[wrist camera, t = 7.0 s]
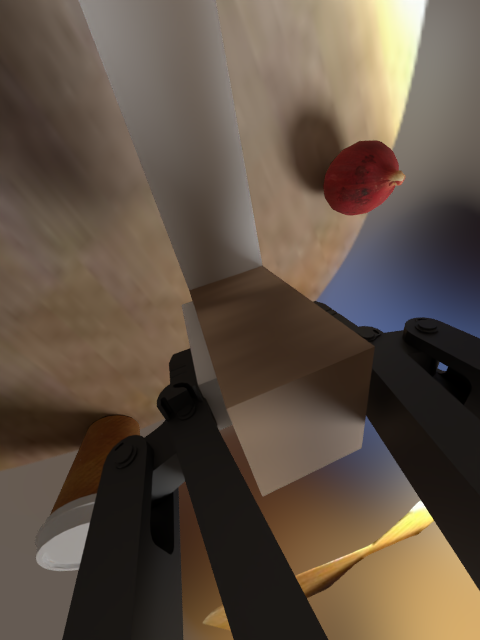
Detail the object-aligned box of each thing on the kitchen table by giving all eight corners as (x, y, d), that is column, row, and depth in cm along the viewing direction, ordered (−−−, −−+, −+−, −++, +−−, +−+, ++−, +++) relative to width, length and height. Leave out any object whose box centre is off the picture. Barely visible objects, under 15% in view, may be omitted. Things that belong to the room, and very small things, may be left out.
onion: (314, 221, 26) (370, 232, 19) (301, 165, 22) (363, 154, 16) (358, 196, 26) (429, 198, 19) (352, 136, 22) (434, 113, 16)
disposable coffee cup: (118, 394, 28) (98, 504, 18) (165, 427, 34) (170, 527, 24) (52, 435, 28) (-4, 568, 18) (110, 462, 34) (92, 577, 24)
